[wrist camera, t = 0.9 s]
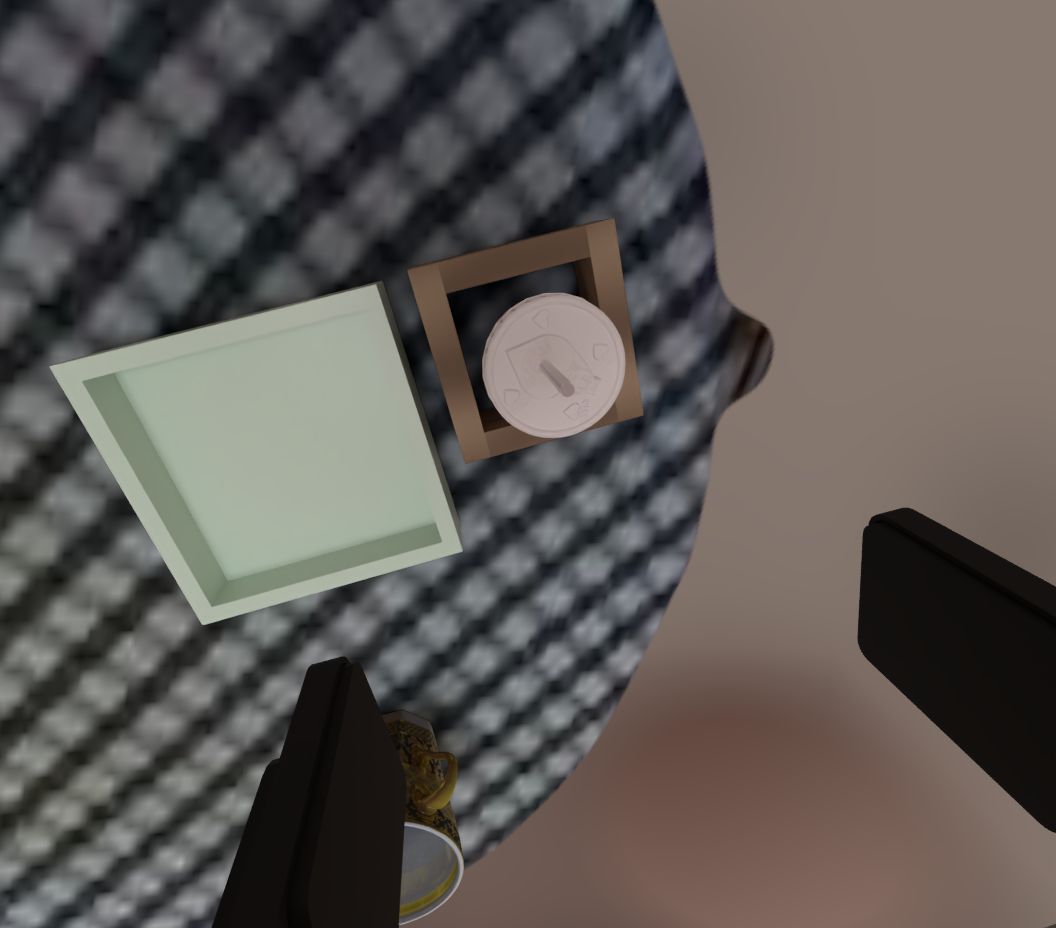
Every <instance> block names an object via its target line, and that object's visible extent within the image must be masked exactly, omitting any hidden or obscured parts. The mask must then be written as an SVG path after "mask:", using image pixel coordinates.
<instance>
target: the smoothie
mask: <svg viewBox="0 0 1056 928" xmlns="http://www.w3.org/2000/svg"><path fill="white" fill-rule="evenodd" d="M482 367H483V380H484V384H485V387H486V390H487V393H488V396H489V398H490V399H491V401H492V402H493V404H494V406H495V407H496V409H497V410H498V412H499V413H500V414H501V415H502V417H503V418H504V419H505V420H506V421H507V422H509V423H510V424H511V425H512V426H514V427H515V428H517V429H519V430H521V431H523V432H525V433H527V434H530V435H533V436H537V437H543V438H560V437H566V436H570V435H574V434H576V433H579V432H581V431H583V430H585V429H587V428H589V427H590V426H592V425H593V424H595V423H596V422H597V421H599V420H600V419H601V418H602V417H603V416H604V415H605V414H606V413H607V412H608V410H609V409H610V408H611V406H612V405H613V403H614V402H615V400H616V398H617V396H618V394H619V392H620V389H621V387H622V383H623V380H624V375H625V352H624V347H623V343H622V340H621V337H620V335H619V333H618V331H617V329H616V327H615V326H614V324H613V323H612V321H611V320H610V319H609V318H608V317H607V316H606V315H605V314H604V313H603V312H602V311H601V310H600V309H599V308H598V307H596V306H594V305H593V304H591V303H589V302H588V301H586V300H585V299H583V298H581V297H577V296H574V295H570V294H566V293H543V294H540V295H536V296H533V297H530V298H526V299H524V300H523V301H521V302H520V303H518V304H516V305H515V306H513V307H512V308H510V309H509V310H507V311H506V312H505V313H504V314H503V315H502V316H501V317H500V318H499V319H498V321H497V323H496V324H495V326H494V328H493V330H492V332H491V333H490V335H489V337H488V339H487V341H486V346H485V350H484V354H483V358H482Z"/></svg>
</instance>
